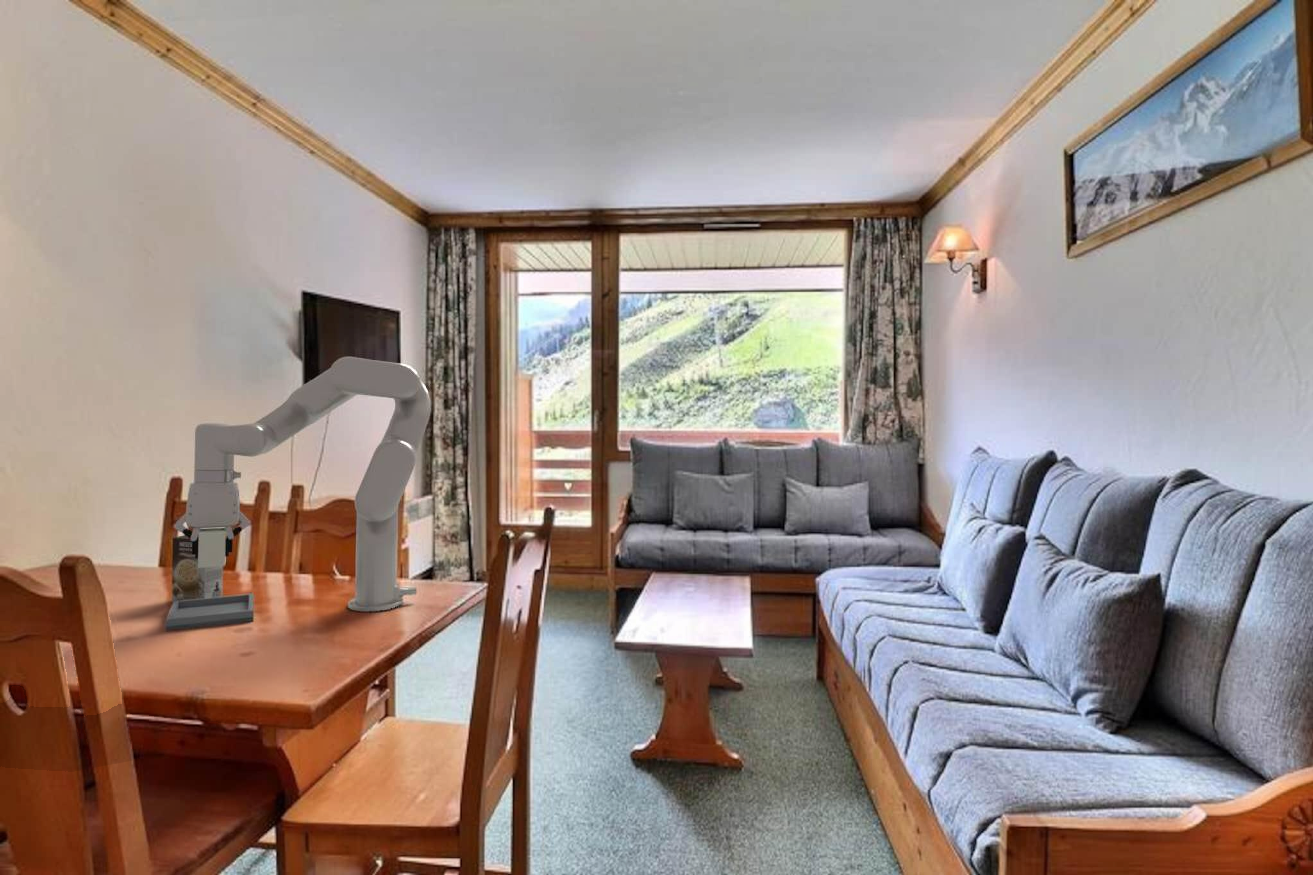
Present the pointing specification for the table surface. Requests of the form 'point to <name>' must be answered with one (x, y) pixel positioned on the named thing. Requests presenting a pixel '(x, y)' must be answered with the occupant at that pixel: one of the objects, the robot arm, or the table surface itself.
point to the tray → (210, 612)
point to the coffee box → (192, 574)
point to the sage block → (211, 547)
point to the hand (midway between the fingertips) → (212, 555)
